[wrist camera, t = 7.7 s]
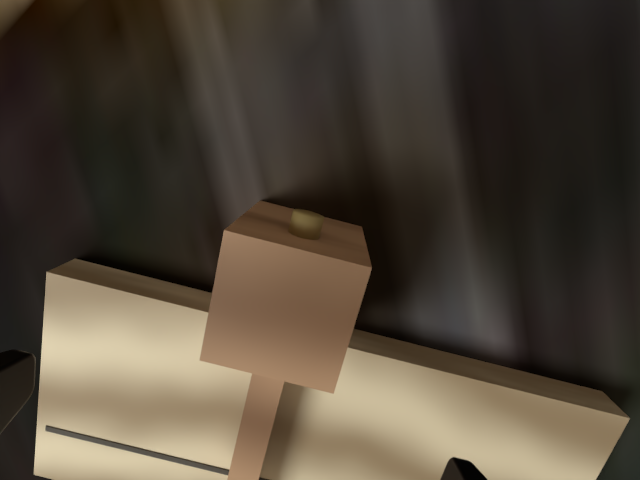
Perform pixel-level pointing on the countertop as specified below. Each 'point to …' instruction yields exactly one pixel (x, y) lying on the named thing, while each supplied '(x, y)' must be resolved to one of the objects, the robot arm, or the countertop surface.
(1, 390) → the robot arm
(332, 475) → the board
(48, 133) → the countertop surface
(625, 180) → the countertop surface
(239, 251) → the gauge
